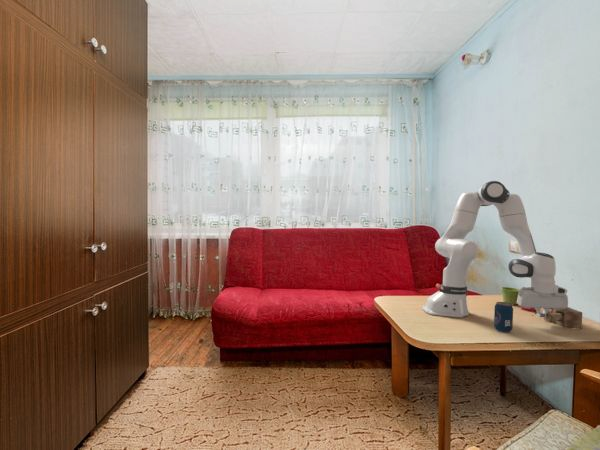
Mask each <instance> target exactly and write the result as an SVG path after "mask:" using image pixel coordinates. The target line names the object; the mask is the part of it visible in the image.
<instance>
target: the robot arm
mask: <svg viewBox="0 0 600 450" xmlns="http://www.w3.org/2000/svg"><path fill="white" fill-rule="evenodd" d="M492 205H493V206H495V208H496V209H497V211H498V217H499V222H500V225H501V228H502V230H503V231H504V232H505V233H508V234H510V235H511V236H513V237H514V238H515V240H516V241H517V243H518V247H519V250H520V255H521V257H517V258H514V259H512V260H511V261H509V263H508V270H509V271H508V272H509V273H510V274H511V275H512V276H513V277H516V278H521V279H523V278H524V279H525V278H529V279H530V287H526V286H523V287H521V288H518V289H519V294H518V298H517V303H516V304H518V306H519V307H520V306H521V307H529V308H535V310H536V312H535V313H536V316H537V317H538V318H543V317H546V314H547V313H548V311H549V308H558V309H566V308H567V307H569V298H568V297H569V296H568V295H567V293H568V290H567V289H566V288H564V287H563V286H560V285H556V280H555V276H556V272H557V271H556V269H557V268H556V260H555V257H554V256H553V255H551V254H549V253H546V252H539V251H538V252H537V249H536V245H535V243H534V239H533V236H532V233H531V229H530V227H529V224H528V220H527V219H528V218H527V215H526V213H527V212H526V209H525V206H524V203H523V200H522V198H521V196H520V195H519V194H517V193H516V194H515V193H510V191H509V190H508V189H507V188H506V187H505V185H504V184H503V183H502V182H500V181H498V180H490V181H488V182H486V183H484V184H483V185H481V186H480V187H478V188H477V190H475V192H472V191H467V192H463V193H461V194H460V196H459V198H458V199H457V202H456V205H455V206H454V210H453V214H452V217H451V221H450V223H449V225H448V227H447V229H446V230H445V232H444V233H443V234H442V236H441V237H439V238H438V239H437V240H436V242H435V244H434V248H435V249H434V250H435V251H436V253H438V254H439V255H440V256H442V257H444V258H448V259H449V260H448V264H447V266H446V267H444V268H443V271H442V283H441V284H440V283H436V285H435V287H436V288H437V289H438V291H436V292H435V293H433V294H431V295H430V296H428V298H427V300H426V304H423V305H422V307H421V310H422V311H424V312H425V313H426V314H429V315H430V316H431V315H433V316H441V317H453V318H461V319H462V318H464V317H465V316H469V314H470V313H469V309H468V301H467V296H468V286H467V276H468V271H469V267H470V265H471V263H472V262H473V261H474V260H475V259H476V258H477V257H478V255H479V246H478V245H477V244H476V242H474V241H472V240H469V239H467V238H466V237H467V235H468V234H469V233H471V232H472V231H474V228H475V224H476V221H477V219H478V214H479V210H480V208H481V207H489V206H492ZM521 307H520V308H521ZM541 308H543V309H544V311H543V312H542V313H541V312H540V310H541Z"/></svg>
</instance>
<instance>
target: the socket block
mask: <svg viewBox="0 0 600 450" xmlns="http://www.w3.org/2000/svg"><path fill="white" fill-rule="evenodd" d="M549 309H553V313H561V314H564V321H559V320H551V321H550V322H551V323H553V324H556V325H558V326H560V327H561V328H563V329H572V328H576V330H582V328H583V312H582V311H579V310H577V309H574V308H572V307H569V306H568V307H567V308H566V309H558V308H549Z"/></svg>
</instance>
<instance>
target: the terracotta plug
mask: <svg viewBox="0 0 600 450" xmlns="http://www.w3.org/2000/svg"><path fill="white" fill-rule="evenodd" d="M543 311H544V309H543V308H541V310H540V312H541V313H542V312H543ZM548 312H549V313H553V309H549V311H548Z"/></svg>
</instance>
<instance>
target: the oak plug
mask: <svg viewBox="0 0 600 450" xmlns="http://www.w3.org/2000/svg"><path fill="white" fill-rule="evenodd" d="M542 318H543V320H544V321H545V322H551V320H559V321H564V314H561V313H549V312H548V313H547V314H546V317H542Z"/></svg>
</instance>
